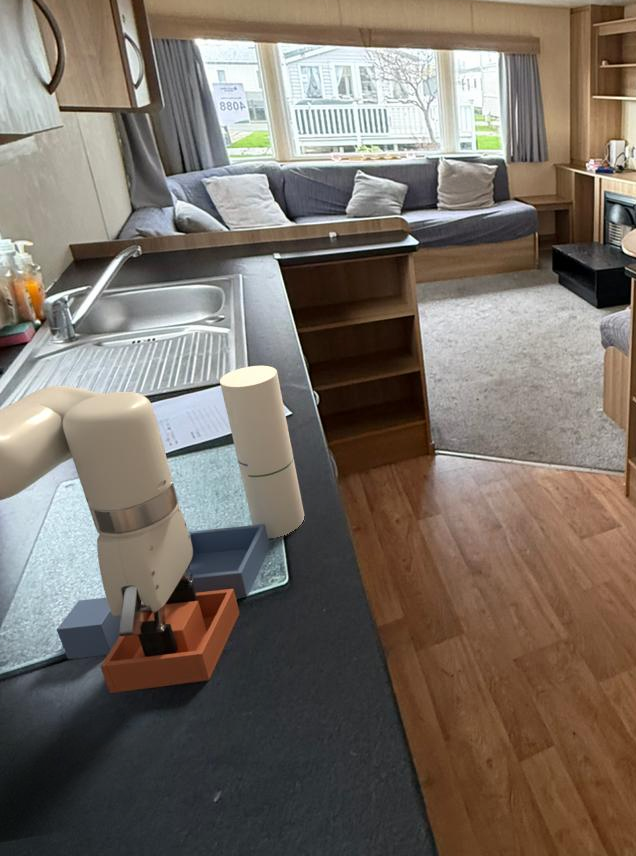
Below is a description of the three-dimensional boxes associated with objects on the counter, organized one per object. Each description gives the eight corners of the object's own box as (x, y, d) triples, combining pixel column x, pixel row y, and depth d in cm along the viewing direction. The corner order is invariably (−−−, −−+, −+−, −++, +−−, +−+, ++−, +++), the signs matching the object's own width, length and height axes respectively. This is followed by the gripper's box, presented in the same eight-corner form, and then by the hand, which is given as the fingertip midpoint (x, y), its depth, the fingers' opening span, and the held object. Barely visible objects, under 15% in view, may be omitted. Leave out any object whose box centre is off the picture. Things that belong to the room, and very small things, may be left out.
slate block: (67, 659, 76) (56, 629, 74) (89, 629, 80) (78, 600, 79) (111, 654, 77) (100, 624, 75) (130, 624, 81) (120, 595, 79)
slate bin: (162, 606, 84) (155, 582, 82) (194, 554, 93) (188, 531, 92) (247, 597, 85) (241, 572, 84) (269, 546, 95) (265, 523, 93)
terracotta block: (147, 665, 75) (137, 635, 73) (165, 634, 79) (156, 605, 77) (191, 660, 75) (182, 630, 74) (206, 629, 80) (198, 600, 78)
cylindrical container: (283, 504, 104) (254, 362, 95) (315, 517, 101) (288, 371, 92) (243, 530, 98) (208, 380, 89) (275, 544, 95) (242, 390, 86)
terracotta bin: (109, 693, 72) (100, 666, 70) (152, 623, 81) (144, 598, 80) (209, 680, 74) (201, 653, 72) (239, 613, 83) (233, 588, 81)
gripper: (135, 464, 77) (170, 585, 84) (47, 562, 61) (99, 701, 68) (204, 459, 78) (233, 578, 85) (135, 553, 63) (177, 691, 69)
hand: (173, 631), depth 76 cm, fingers open, 5 cm apart
